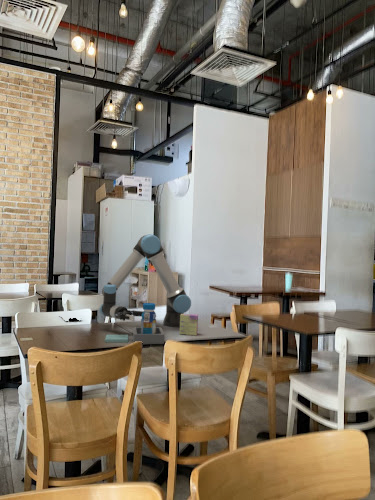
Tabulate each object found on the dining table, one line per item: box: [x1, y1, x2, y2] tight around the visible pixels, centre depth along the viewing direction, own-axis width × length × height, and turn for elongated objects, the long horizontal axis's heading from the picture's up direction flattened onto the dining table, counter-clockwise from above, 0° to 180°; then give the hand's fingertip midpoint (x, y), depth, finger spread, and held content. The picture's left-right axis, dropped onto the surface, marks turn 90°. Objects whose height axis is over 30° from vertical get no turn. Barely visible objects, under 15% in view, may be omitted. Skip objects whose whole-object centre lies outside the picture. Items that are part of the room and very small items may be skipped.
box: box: [179, 313, 199, 336], centre depth 241 cm, size 10×6×12 cm, turn 84°
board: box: [104, 334, 129, 343], centre depth 220 cm, size 12×12×2 cm
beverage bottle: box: [140, 302, 157, 334], centre depth 222 cm, size 8×8×20 cm
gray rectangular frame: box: [132, 326, 165, 345], centre depth 222 cm, size 16×20×5 cm
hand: (143, 317), depth 224 cm, fingers open, 13 cm apart
